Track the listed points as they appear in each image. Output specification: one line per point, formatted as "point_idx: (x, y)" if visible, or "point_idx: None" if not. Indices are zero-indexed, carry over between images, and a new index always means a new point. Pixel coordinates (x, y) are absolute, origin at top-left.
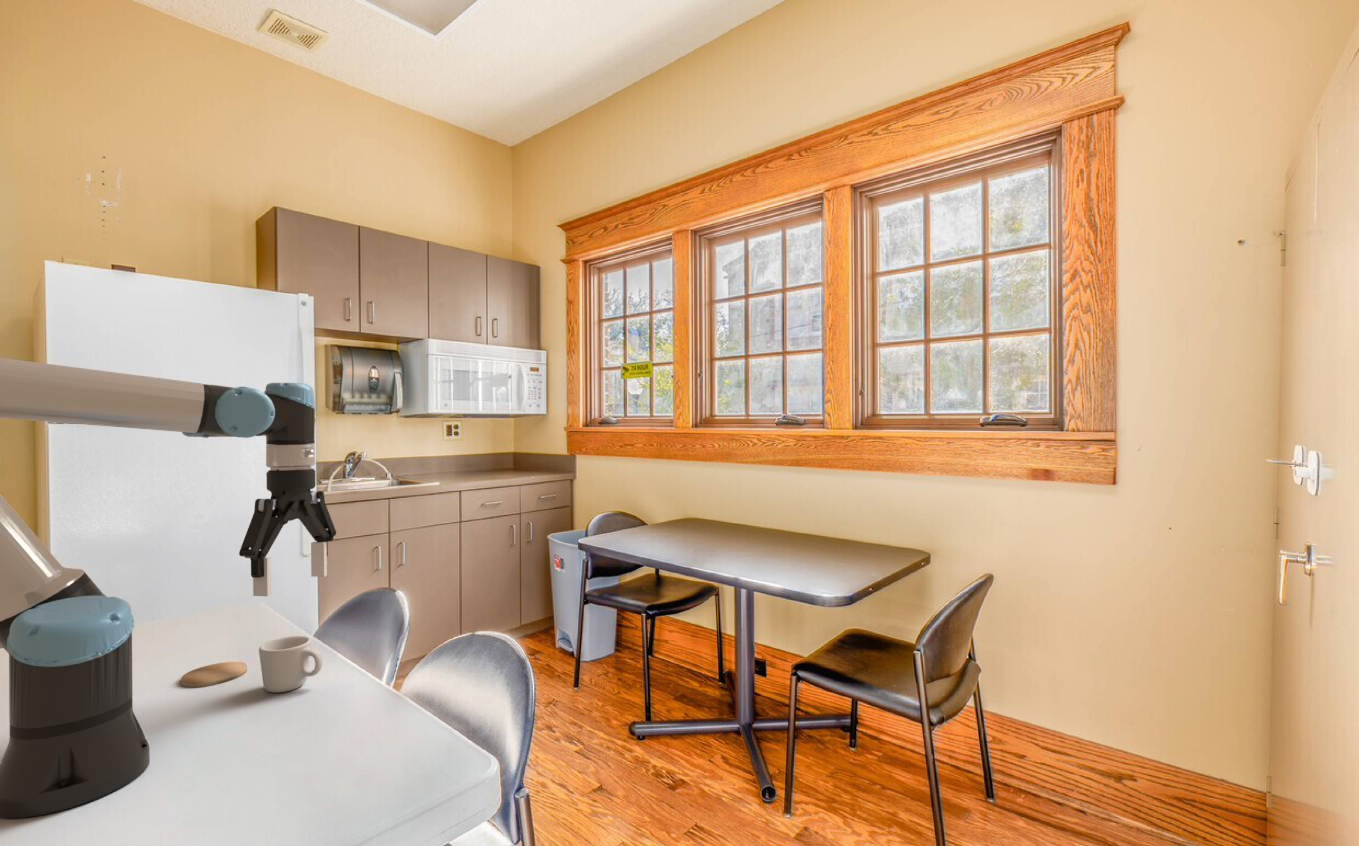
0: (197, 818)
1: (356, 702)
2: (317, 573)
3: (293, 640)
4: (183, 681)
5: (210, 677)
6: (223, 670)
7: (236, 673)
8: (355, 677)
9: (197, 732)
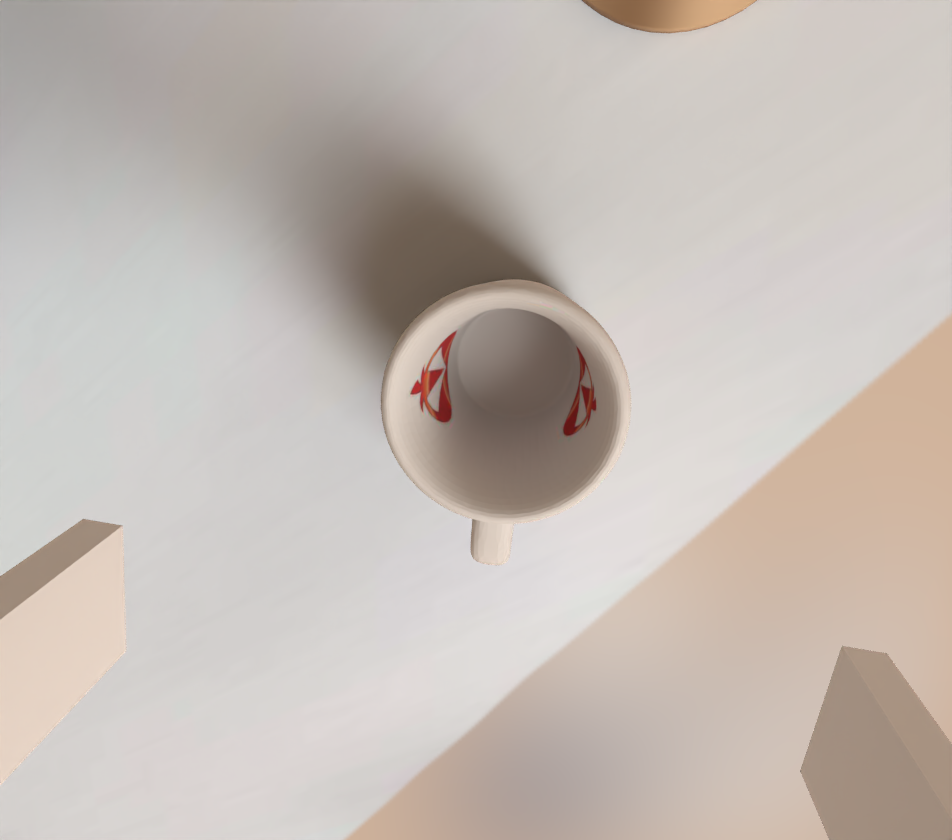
0: None
1: (380, 676)
2: (831, 733)
3: (605, 391)
4: None
5: None
6: None
7: (646, 22)
8: (602, 583)
9: (132, 280)
